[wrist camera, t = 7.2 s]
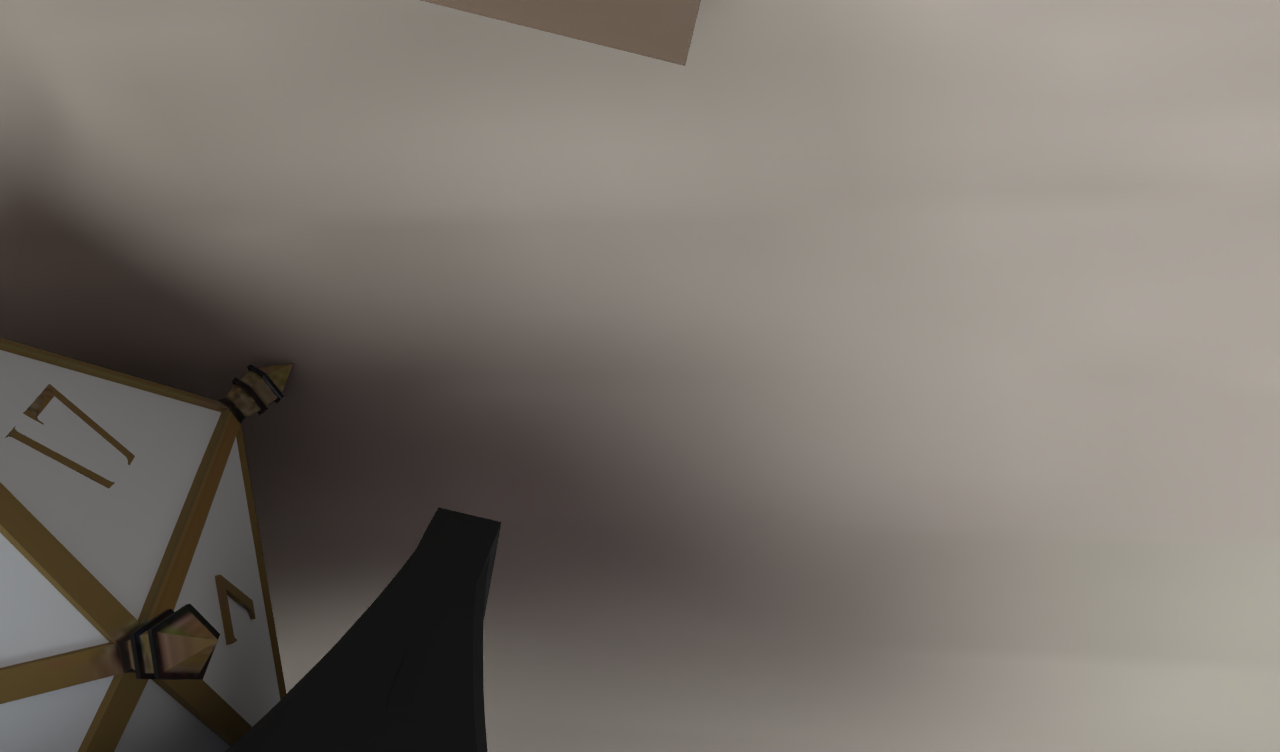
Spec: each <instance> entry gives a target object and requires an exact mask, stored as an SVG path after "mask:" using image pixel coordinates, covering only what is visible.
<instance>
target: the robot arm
mask: <svg viewBox="0 0 1280 752" xmlns="http://www.w3.org/2000/svg"><path fill="white" fill-rule="evenodd" d="M500 527H501V522H498V521H494V520H490V519H485V518H481V517H477V516H472V515H468V514H464V513H460V512H455V511H451V510H447V509H442V508H438V510H437V511H436V513H435V515H434V517H433V519H432V520H431V522H430V524H429V526H428V528H427V530H426V531H425V533H424V535H423V537H422V539H421V541H420V543H419V545H418V547H417V549H416V550H415V552H414V553H413V554H412V556H411V557H410V558H409V560H408V561H407V562H406V563H405V565H404V566H403V567H402V569H401V570H400V571H399V572H398V574H397V575H396V576H395V577H394V578H393V580H392V581H391V582H390V583H389V584H388V586H387V587H386V588H385V589H384V591H383V592H382V593H381V594H380V595H379V597H378V598H377V599H376V600H375V601H374V602H373V603H372V605H371V606H370V607H369V608H368V609H367V610H366V611H365V612H364V613H363V615H362V616H361V617H360V618H359V619H358V620H357V621H356V622H355V624H354V625H353V626H352V627H351V628H350V629H349V630H348V631H347V633H346V634H345V635H344V636H343V637H342V638H341V639H340V640H339V641H338V643H337V644H336V645H335V646H334V647H333V648H332V649H331V650H330V651H329V652H328V653H327V654H326V655H325V656H324V657H323V658H322V659H321V660H320V661H319V662H318V663H317V664H316V665H315V666H314V667H313V668H312V669H311V670H310V671H309V672H308V673H307V674H306V675H305V676H304V677H303V678H302V679H301V680H300V681H299V682H298V683H297V684H296V685H295V686H294V687H293V688H292V689H291V690H290V691H289V692H288V693H287V694H286V695H285V696H284V697H283V698H282V699H281V700H280V701H279V702H278V703H277V704H276V705H275V706H274V707H273V708H272V709H271V710H270V711H269V712H268V713H267V714H266V715H265V716H264V717H262V718H261V719H260V720H259V721H258V722H257V723H256V724H255V725H254V726H253V727H252V728H251V729H249V730H248V731H247V732H246V733H245V734H244V735H243V736H242V737H241V738H240V739H238V740H237V741H236V742H235V743H234V744H233V745H232V746H231V747H230V748H228V749H227V750H226V751H225V752H487V742H486V729H485V714H484V694H483V620H484V615H485V609H486V604H487V598H488V593H489V587H490V582H491V576H492V571H493V565H494V560H495V554H496V549H497V543H498V538H499V532H500Z"/></svg>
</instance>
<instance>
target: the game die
mask: <svg viewBox="0 0 1280 752" xmlns="http://www.w3.org/2000/svg"><path fill="white" fill-rule="evenodd" d="M292 366H293V364H285V365H275V366H266V367H254V366H253V365H251V364H250V365H249V366H248V367H247V368H248V370H249V372H248V373H247V374H246V375H244V376H243V377H242V378H241V379H240V380H239V379H237V378H236V377H235V378H234V379H233V380H232V382H233V384H234V386H233V387H232V389H231V390H230V392H229V393H228V395H227V396H226V397H225V398H223V399H221V400H219V401H217V400H214V399H210V398H207V397H203V396H200V395H196V394H193V393H190V392H186V391H183V390H179V389H176V388H172V387H169V386H166V385H162V384H159V383H155V382H152V381H148V380H145V379H142V378H138V377H135V376H131V375H128V374H125V373H121V372H118V371H114V370H111V369H107V368H104V367H101V366H97V365H94V364H90V363H87V362H83V361H80V360H77V359H73V358H70V357H66V356H63V355H59V354H56V353H53V352H49V351H46V350H42V349H39V348H35V347H32V346H29V345H25V344H22V343H18V342H15V341H11V340H8V339H5V338H1V337H0V752H225V751H226V750H227V749H228V748H230V747H231V746H232V745H233V744H234V743H235V742H236V741H237V740H238V739H240V738H241V737H242V736H243V735H244V734H245V733H246V732H247V731H248V730H249V729H251V728H252V727H253V726H254V725H255V724H256V723H257V722H258V721H259V720H260V719H261V718H262V717H264V716H265V715H266V714H267V713H268V712H269V711H270V710H271V709H272V708H273V707H274V706H275V705H276V704H277V703H278V702H279V701H280V700H281V699H282V698H283V697H284V696H285V695H286V690H285V684H284V678H283V672H282V666H281V660H280V654H279V648H278V642H277V636H276V630H275V624H274V618H273V612H272V606H271V600H270V595H269V589H268V583H267V577H266V571H265V565H264V559H263V553H262V547H261V541H260V535H259V529H258V523H257V517H256V511H255V505H254V499H253V493H252V487H251V481H250V476H249V470H248V464H247V458H246V452H245V446H244V440H243V434H242V428H241V422H242V421H243V419H244V418H246V417H249V416H251V415H253V414H255V413H258V414H259V415H261V414H263V413H264V412H265V411H266V410H267V409H268V408H267V407H266V406H268V405H269V404H270V403H272V402H273V401H274V402H275V403H276V404H277V403H278V402H279V401H280V400H282V399H283V398H284V395H283V394H282V392H283V389H284V386H285V384H286V381H287V379H288V376H289V374H290V371H291V368H292Z"/></svg>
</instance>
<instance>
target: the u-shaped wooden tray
mask: <svg viewBox="0 0 1280 752" xmlns="http://www.w3.org/2000/svg"><path fill="white" fill-rule="evenodd" d="M422 1H426V2H430V3H434V4H438V5H442V6H446V7H450V8H454V9H458V10H462V11H466V12H470V13H474V14H478V15H482V16H486V17H490V18H494V19H498V20H502V21H506V22H510V23H515V24H519V25H523V26H527V27H531V28H535V29H539V30H543V31H547V32H551V33H555V34H559V35H563V36H567V37H571V38H575V39H579V40H583V41H587V42H591V43H595V44H599V45H603V46H607V47H611V48H615V49H619V50H623V51H627V52H631V53H635V54H640V55H644V56H648V57H652V58H656V59H660V60H664V61H668V62H672V63H676V64H680V65H684V66H685V64H686V60H687V55H688V51H689V47H690V43H691V39H692V35H693V30H694V26H695V22H696V18H697V14H698V9H699V5H700V1H701V0H422Z"/></svg>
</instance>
